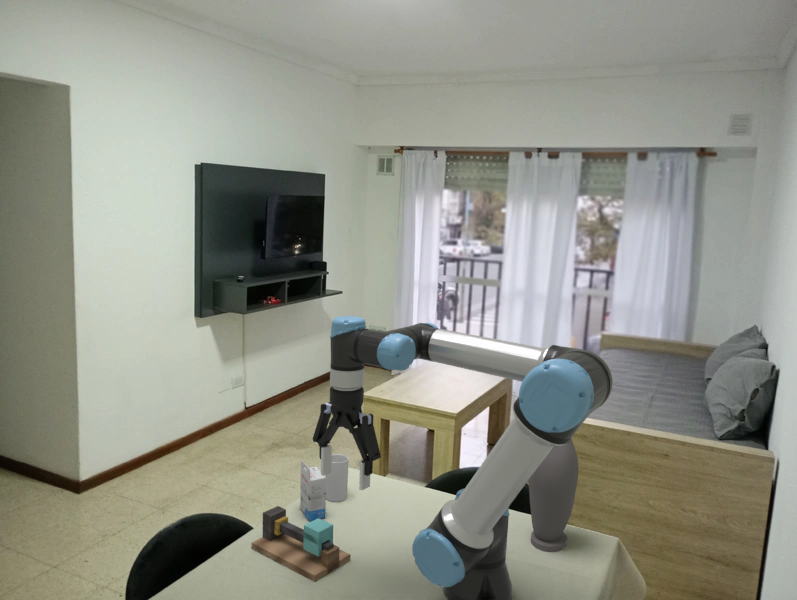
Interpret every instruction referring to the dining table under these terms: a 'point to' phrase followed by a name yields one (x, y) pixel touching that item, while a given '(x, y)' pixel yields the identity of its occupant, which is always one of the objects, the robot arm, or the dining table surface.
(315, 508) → the ink box
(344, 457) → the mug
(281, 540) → the cradle board
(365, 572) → the dining table surface
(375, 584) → the dining table surface
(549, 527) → the vase
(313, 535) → the sleeve
